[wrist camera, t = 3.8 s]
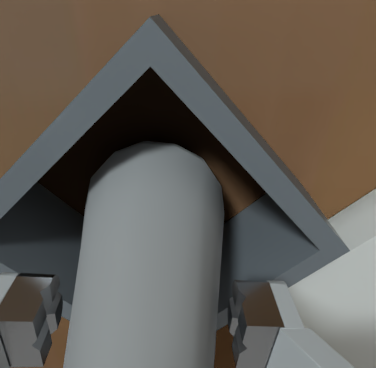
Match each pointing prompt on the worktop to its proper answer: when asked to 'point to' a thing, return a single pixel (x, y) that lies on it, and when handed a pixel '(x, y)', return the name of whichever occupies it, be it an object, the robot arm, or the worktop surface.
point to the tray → (345, 288)
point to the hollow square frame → (219, 126)
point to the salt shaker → (148, 262)
